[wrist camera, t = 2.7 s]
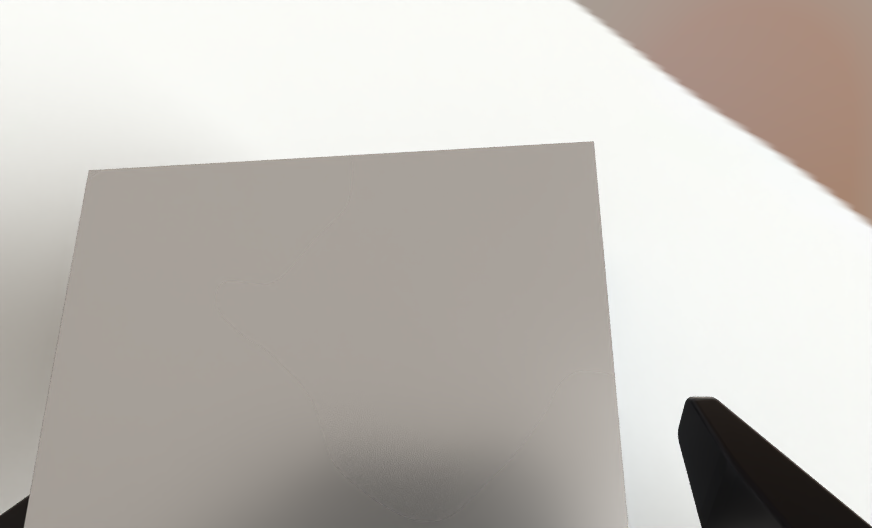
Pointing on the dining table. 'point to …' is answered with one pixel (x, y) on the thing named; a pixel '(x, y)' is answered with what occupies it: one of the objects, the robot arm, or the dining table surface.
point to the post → (337, 347)
